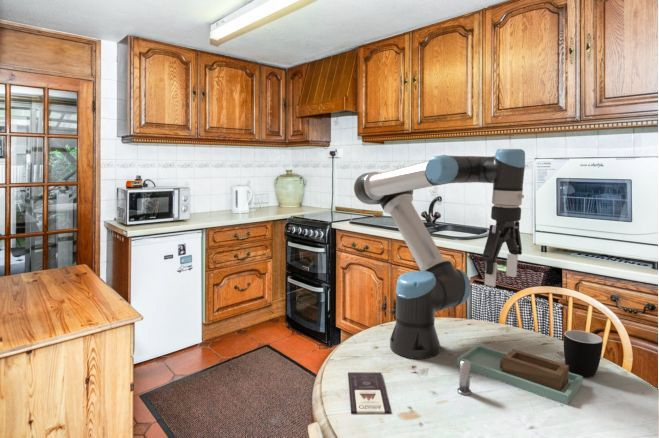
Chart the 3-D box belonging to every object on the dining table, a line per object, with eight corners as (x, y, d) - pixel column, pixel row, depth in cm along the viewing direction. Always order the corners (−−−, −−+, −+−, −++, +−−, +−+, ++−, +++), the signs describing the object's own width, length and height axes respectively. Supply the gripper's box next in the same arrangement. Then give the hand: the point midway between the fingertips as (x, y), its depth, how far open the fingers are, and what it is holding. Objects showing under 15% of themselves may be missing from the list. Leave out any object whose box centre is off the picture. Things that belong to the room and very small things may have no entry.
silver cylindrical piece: (455, 391, 102) (456, 361, 101) (461, 387, 104) (462, 357, 103) (467, 396, 99) (468, 365, 98) (473, 391, 102) (474, 361, 101)
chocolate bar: (381, 372, 111) (390, 411, 93) (381, 375, 111) (390, 415, 93) (347, 372, 111) (351, 411, 93) (347, 375, 111) (351, 415, 93)
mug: (607, 381, 106) (610, 344, 105) (570, 379, 108) (572, 342, 106) (585, 360, 118) (587, 326, 117) (552, 358, 119) (554, 325, 118)
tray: (456, 365, 115) (457, 358, 115) (477, 351, 125) (477, 344, 124) (567, 405, 96) (567, 396, 95) (582, 384, 105) (582, 376, 105)
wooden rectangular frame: (559, 392, 100) (560, 375, 99) (496, 371, 110) (496, 355, 110) (567, 382, 105) (569, 365, 104) (506, 362, 115) (506, 347, 115)
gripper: (500, 210, 101) (494, 293, 104) (537, 204, 118) (531, 275, 121) (471, 207, 106) (466, 286, 109) (511, 201, 123) (506, 270, 126)
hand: (500, 280), depth 115 cm, fingers open, 13 cm apart
